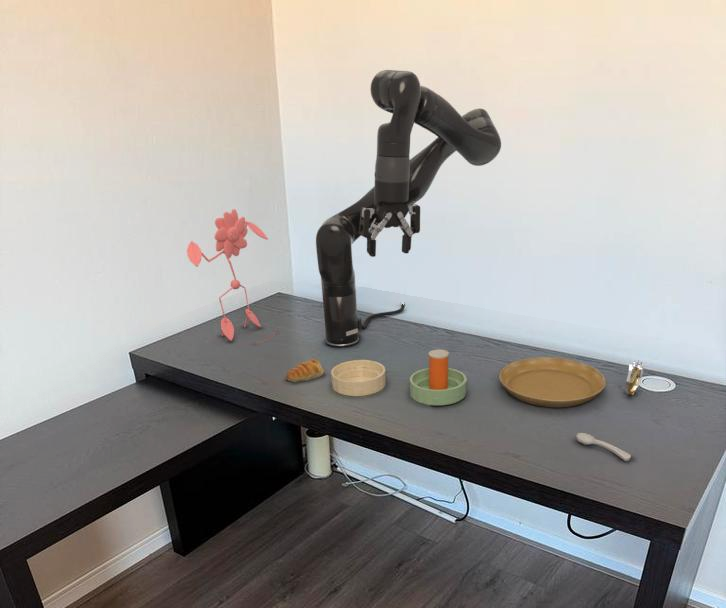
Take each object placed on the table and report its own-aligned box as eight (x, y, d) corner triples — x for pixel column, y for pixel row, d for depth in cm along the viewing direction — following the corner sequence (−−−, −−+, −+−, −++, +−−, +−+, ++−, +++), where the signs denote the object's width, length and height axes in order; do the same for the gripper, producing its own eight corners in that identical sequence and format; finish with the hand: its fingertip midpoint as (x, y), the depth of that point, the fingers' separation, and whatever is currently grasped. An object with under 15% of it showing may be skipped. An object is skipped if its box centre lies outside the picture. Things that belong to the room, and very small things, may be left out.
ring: (631, 401, 154) (637, 368, 150) (617, 397, 156) (623, 365, 152) (644, 390, 158) (650, 358, 154) (631, 387, 160) (637, 355, 156)
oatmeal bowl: (343, 373, 176) (342, 357, 173) (392, 378, 171) (392, 362, 169) (324, 394, 165) (322, 378, 163) (375, 400, 161) (374, 384, 159)
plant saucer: (622, 385, 161) (624, 372, 159) (571, 423, 147) (573, 409, 145) (532, 361, 176) (533, 349, 174) (478, 394, 161) (479, 381, 159)
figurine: (198, 344, 198) (173, 218, 179) (262, 318, 214) (246, 200, 195) (233, 355, 189) (211, 224, 170) (297, 327, 205) (284, 204, 186)
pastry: (296, 387, 170) (294, 372, 168) (281, 379, 174) (279, 365, 172) (326, 376, 175) (325, 362, 172) (311, 368, 179) (310, 355, 177)
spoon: (580, 436, 142) (582, 428, 141) (632, 460, 135) (634, 452, 133) (572, 441, 140) (573, 433, 139) (623, 466, 133) (626, 457, 132)
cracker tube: (431, 387, 164) (431, 348, 159) (450, 389, 163) (450, 350, 157) (426, 396, 161) (426, 356, 155) (445, 398, 159) (446, 357, 154)
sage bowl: (418, 380, 169) (418, 364, 167) (471, 386, 165) (471, 370, 163) (403, 403, 159) (402, 387, 157) (458, 410, 155) (459, 393, 153)
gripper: (370, 182, 142) (367, 261, 151) (429, 179, 148) (423, 255, 156) (354, 176, 148) (353, 253, 157) (412, 173, 153) (408, 247, 162)
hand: (388, 254), depth 157 cm, fingers open, 8 cm apart
